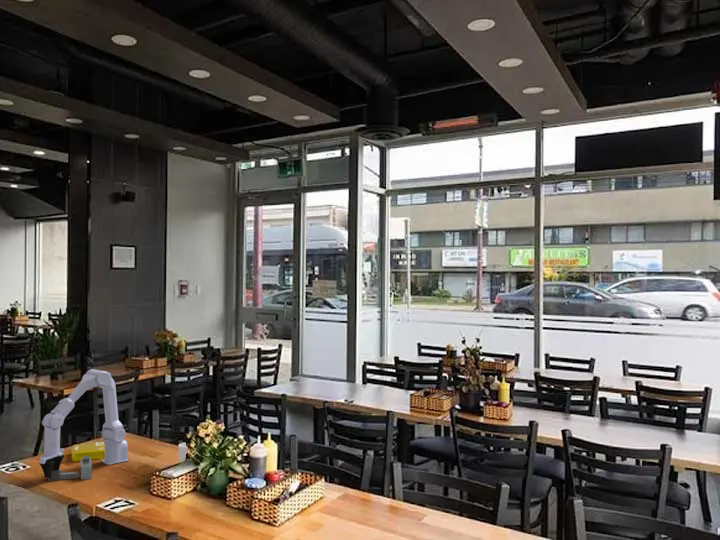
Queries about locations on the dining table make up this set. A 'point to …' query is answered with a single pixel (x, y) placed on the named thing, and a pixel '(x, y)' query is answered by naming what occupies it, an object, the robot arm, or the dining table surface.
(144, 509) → the dining table surface
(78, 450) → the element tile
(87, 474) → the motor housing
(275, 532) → the dining table surface
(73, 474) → the plug
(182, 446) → the white cup
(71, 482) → the dining table surface
